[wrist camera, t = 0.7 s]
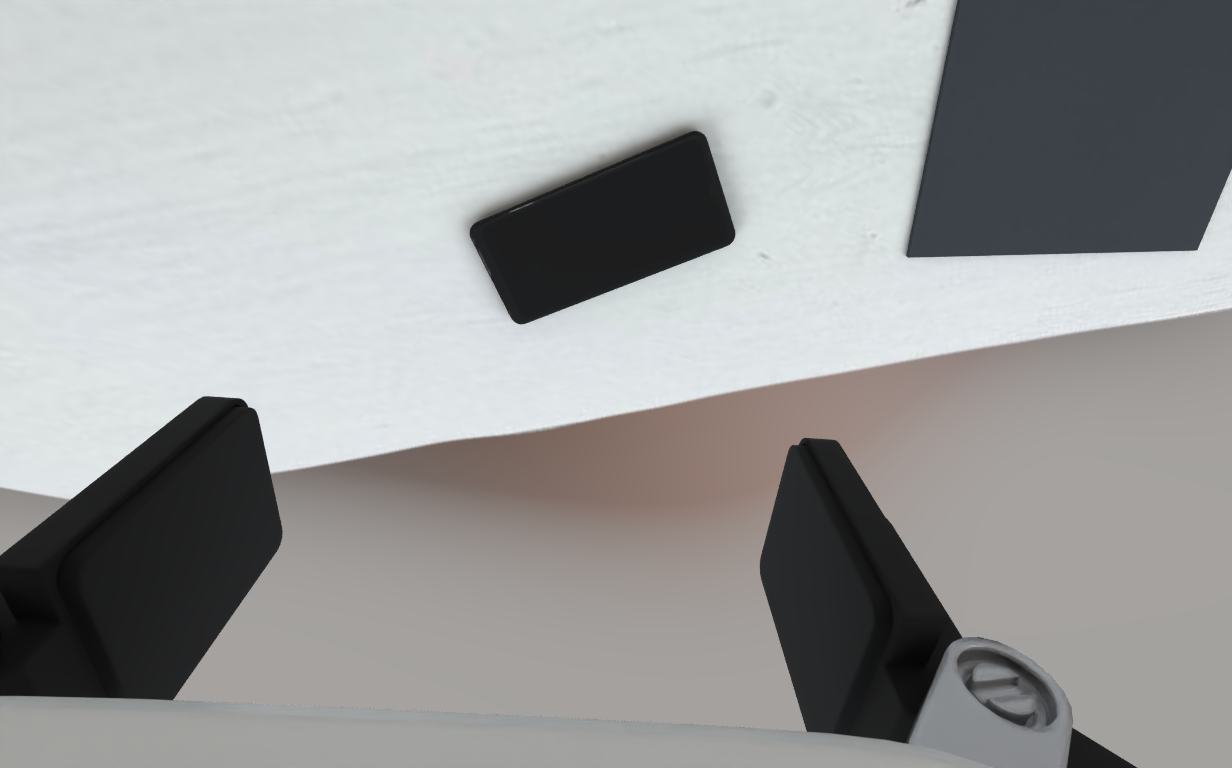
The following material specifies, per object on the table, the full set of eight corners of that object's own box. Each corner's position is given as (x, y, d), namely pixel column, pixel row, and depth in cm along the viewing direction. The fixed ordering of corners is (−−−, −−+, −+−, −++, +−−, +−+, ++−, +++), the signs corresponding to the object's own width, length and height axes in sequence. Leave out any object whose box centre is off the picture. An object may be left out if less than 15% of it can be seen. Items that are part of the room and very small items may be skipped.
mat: (989, -158, 29) (992, -160, 28) (1368, -168, 29) (1375, -170, 28) (906, 256, 38) (908, 257, 37) (1193, 249, 38) (1197, 250, 37)
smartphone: (464, 228, 36) (704, 127, 33) (467, 225, 37) (702, 126, 34) (515, 329, 39) (739, 242, 36) (517, 324, 39) (736, 239, 37)
